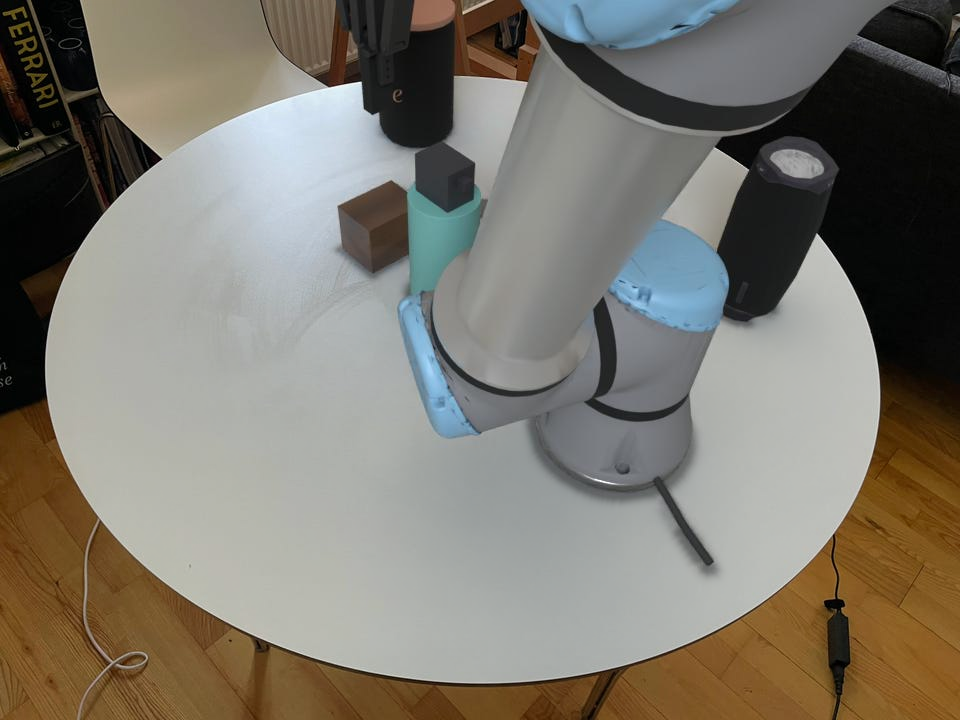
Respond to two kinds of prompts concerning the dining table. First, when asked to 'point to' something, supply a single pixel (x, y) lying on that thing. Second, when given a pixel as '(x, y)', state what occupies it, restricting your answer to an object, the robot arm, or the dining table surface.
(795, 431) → the dining table surface
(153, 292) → the dining table surface
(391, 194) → the block
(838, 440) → the dining table surface
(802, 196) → the portable speaker
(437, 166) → the spray bottle
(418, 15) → the coffee jar
